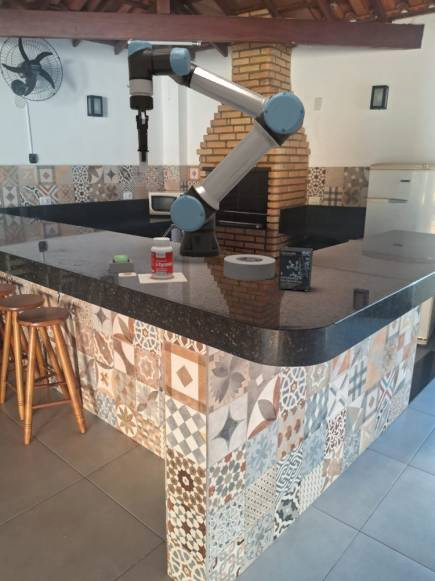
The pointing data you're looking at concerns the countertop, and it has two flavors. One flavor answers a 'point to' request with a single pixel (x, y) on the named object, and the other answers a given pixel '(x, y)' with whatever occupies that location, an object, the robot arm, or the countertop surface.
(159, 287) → the countertop surface
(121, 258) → the button cap
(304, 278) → the box
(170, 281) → the sheet
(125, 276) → the card
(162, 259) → the pill bottle
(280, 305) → the countertop surface
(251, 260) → the tape roll
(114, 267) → the button base
